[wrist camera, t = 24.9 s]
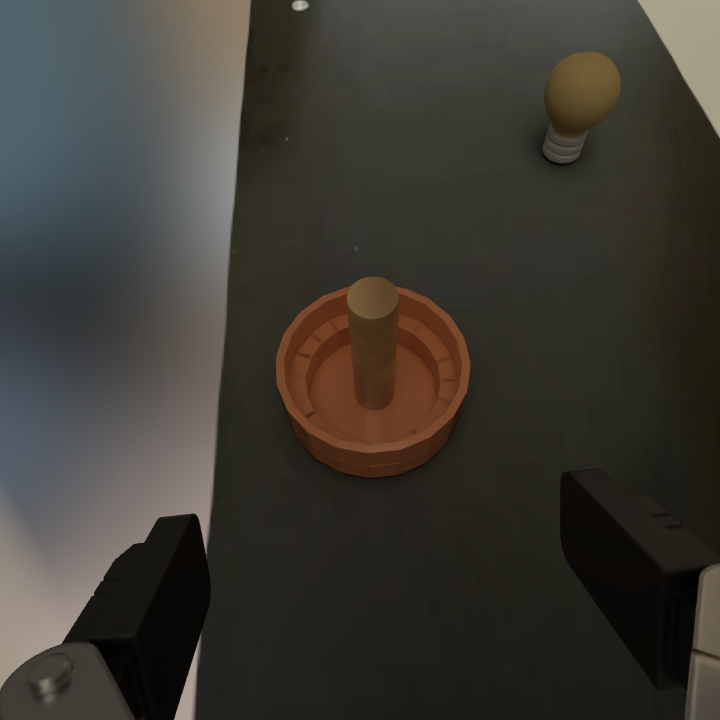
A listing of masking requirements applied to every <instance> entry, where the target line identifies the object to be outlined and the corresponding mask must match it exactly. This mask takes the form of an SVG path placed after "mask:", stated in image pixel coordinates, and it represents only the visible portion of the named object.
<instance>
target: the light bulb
mask: <svg viewBox="0 0 720 720" xmlns="http://www.w3.org/2000/svg"><path fill="white" fill-rule="evenodd" d="M620 89H621V79H620V74H619V71H618V69H617V67H616V66H615V64H614V63H613V62H612V61H611V60H610V59H609V58H608V57H607V56H605V55H603V54H600V53H597V52H581V53H576V54H573V55H571V56H568V57H566V58H565V59H563V60H562V61H560V62H559V63H558V64H557V66H556V67H555V68H554V69H553V71H552V73H551V74H550V76H549V78H548V81H547V83H546V87H545V93H544V101H545V107H546V110H547V113H548V116H549V118H550V119H551V121H552V122H551V123H550V125H549V127H548V132H547V134H546V137H545V141H544V144H543V147H542V149H543V153H544V155H545V156H546V157H547V158H548V159H549V160H551V161H552V162H555V163H560V164H564V163H570V162H573V161H575V160H576V159H577V158H578V157H579V155H580V153H581V149H582V148H583V145H584V142H585V139H586V137H587V135H588V129H590V128H592V127H594V126H595V125H597V124H598V123H600V122H601V121H602V120H603V119H604V118H605V117H606V116H607V115H608V114H609V113H610V112H611V111H612V109H613V108H614V106H615V104H616V102H617V100H618V97H619V94H620Z"/></svg>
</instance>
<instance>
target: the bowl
mask: <svg viewBox="0 0 720 720" xmlns="http://www.w3.org/2000/svg"><path fill="white" fill-rule="evenodd" d="M350 287H351V286H349V287H346V288H343V289H341V290H338V291H335V292H332V293H330V294H327V295H324V296H323V297H321V298H319V299H318V300H316V301H315V302H314V303H312V304H311V305H310V306H308V307H307V308H305V309H304V310H303V311H301V312H300V313H299V315H298V316H297V317H296V319H295V320H294V321H293V322H292V324H291V325H290V326H289V328H288V329H287V330H286V332H285V333H284V335H283V338H282V341H281V344H280V347H279V350H278V353H277V356H276V382H277V387H278V390H279V393H280V396H281V399H282V401H283V404H284V407H285V410H286V413H287V416H288V418H289V420H290V423H291V425H292V428H293V430H294V433H295V435H296V437H297V439H298V440H299V441H300V442H301V443H302V444H303V446H304V447H305V448H306V449H307V450H308V451H309V452H310V453H311V454H312V456H313V457H314V458H316V459H317V460H319V461H321V462H323V463H324V464H326V465H328V466H330V467H331V468H333V469H335V470H337V471H339V472H342V473H347V474H352V475H357V476H362V477H367V478H373V477H382V476H391V475H398V474H401V473H404V472H406V471H408V470H410V469H413V468H415V467H417V466H419V465H422V464H424V463H426V462H427V461H428V460H429V459H430V458H431V457H432V456H433V455H435V454H436V453H437V452H438V451H439V450H440V449H441V448H442V447H443V446H444V445H445V444H446V443H447V441H448V439H449V437H450V435H451V434H452V432H453V430H454V428H455V426H456V424H457V422H458V419H459V416H460V413H461V410H462V406H463V403H464V400H465V397H466V394H467V390H468V383H469V375H470V367H471V363H470V358H469V354H468V350H467V346H466V342H465V339H464V336H463V335H462V333H461V332H460V330H459V329H458V327H457V326H456V324H455V323H454V321H453V320H452V318H451V316H449V315H448V314H447V313H446V312H445V311H443V310H442V309H441V308H440V307H438V306H437V305H436V304H435V303H434V302H432V301H431V300H430V299H429V298H426V297H424V296H422V295H419V294H417V293H415V292H412V291H410V290H408V289H405V288H401V287H396V289H397V291H398V293H399V311H398V330H397V348H396V367H395V386H394V397H393V399H392V401H391V403H390V404H389V405H388V406H386V407H385V408H383V409H380V410H369V409H366V408H364V407H363V406H361V405H360V404H359V403H358V401H357V400H356V397H355V390H354V379H353V367H352V356H351V344H350V332H349V321H348V309H347V293H348V291H349V289H350Z"/></svg>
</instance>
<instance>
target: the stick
mask: <svg viewBox="0 0 720 720" xmlns="http://www.w3.org/2000/svg"><path fill="white" fill-rule="evenodd" d="M347 309H348V321H349V332H350V344H351V356H352V367H353V379H354V390H355V397H356V400H357V401H358V403H359V404H360V405H361V406H363V407H364V408H366V409H369V410H380V409H383V408H385V407H386V406H388V405H389V404H390V403H391V401H392V399H393V397H394V386H395V367H396V348H397V330H398V311H399V293H398V291H397V289H396V287H395V286H394V285H393V284H392V283H391V282H389V281H388V280H386V279H383V278H380V277H367V278H363V279H360V280H359V281H357V282H355V283H354V284H353V285H352V286H351V287H350V289H349V291H348V293H347Z"/></svg>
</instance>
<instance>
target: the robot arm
mask: <svg viewBox="0 0 720 720" xmlns="http://www.w3.org/2000/svg"><path fill="white" fill-rule="evenodd" d="M560 537H561V544H562V549H563V552H564V555H565V558H566V560H567V562H568V564H569V566H570V567H571V569H572V570H573V571H574V573H575V574H576V576H577V577H578V578H579V580H580V581H581V583H582V584H583V586H584V587H585V588H586V590H587V591H588V593H589V594H590V595H591V597H592V598H593V600H594V601H595V603H596V604H597V605H598V607H599V608H600V610H601V611H602V613H603V614H604V615H605V617H606V618H607V620H608V621H609V622H610V624H611V625H612V627H613V628H614V630H615V631H616V632H617V634H618V635H619V637H620V638H621V640H622V641H623V642H624V644H625V645H626V647H627V648H628V649H629V651H630V652H631V654H632V655H633V657H634V658H635V659H636V661H637V662H638V664H639V665H640V666H641V668H642V669H643V671H644V672H645V674H646V675H647V676H648V678H649V679H650V681H651V682H652V684H653V685H654V686H655V688H656V689H657V690H664V689H672V688H680V687H684V688H685V689H686V691H687V699H686V710H685V720H720V556H718V555H717V554H716V553H715V552H714V551H713V550H711V549H710V548H709V547H708V546H707V545H706V544H704V543H703V542H702V541H701V540H700V539H699V538H697V537H696V536H695V535H694V534H693V533H691V532H690V531H689V530H688V529H687V528H686V527H682V524H681V523H680V522H679V521H677V520H676V519H675V518H674V517H673V516H672V515H668V512H667V511H666V510H664V509H663V508H662V507H661V506H660V505H659V504H657V503H656V502H655V501H654V500H653V499H652V498H649V497H647V496H645V495H643V494H641V493H639V492H636V491H634V490H632V489H630V488H621V487H620V486H619V485H618V484H617V483H616V482H615V481H614V480H612V479H611V478H610V477H609V476H608V475H607V474H606V473H605V472H604V471H602V470H601V469H599V468H595V469H586V470H577V471H568V472H564V473H563V474H562V476H561V481H560ZM210 595H211V582H210V574H209V569H208V563H207V558H206V553H205V548H204V543H203V537H202V532H201V527H200V522H199V519H198V517H197V515H196V514H185V515H177V516H168V517H160V518H159V519H158V520H157V521H156V523H155V525H154V526H153V528H152V530H151V532H150V533H149V535H148V537H147V539H146V541H145V542H144V543H138V544H133V545H132V546H131V547H130V548H129V549H127V550H126V551H125V552H124V553H123V554H121V555H120V556H119V557H118V558H117V559H115V561H114V562H113V563H112V565H111V567H110V568H109V570H108V571H107V573H106V575H105V576H104V580H103V581H101V582H100V584H99V586H98V587H97V589H96V590H95V592H94V596H92V597H91V598H90V600H89V601H88V603H87V605H86V606H85V608H84V609H83V611H82V612H81V614H80V616H79V617H78V619H77V620H76V622H75V623H74V625H73V627H72V628H71V630H70V631H69V633H68V635H67V636H66V638H65V639H64V641H63V642H62V644H61V645H58V646H55V647H52V648H49V649H47V650H45V651H43V652H41V653H39V654H38V655H36V656H34V657H32V658H31V659H29V660H28V661H26V662H25V663H24V664H22V665H21V666H20V667H19V668H17V669H16V670H15V671H14V672H13V673H12V674H11V676H10V677H9V678H8V679H7V680H6V682H5V683H4V684H3V686H2V688H1V690H0V720H174V718H175V714H176V711H177V708H178V705H179V701H180V698H181V695H182V692H183V689H184V685H185V682H186V679H187V676H188V673H189V669H190V666H191V663H192V660H193V656H194V653H195V650H196V647H197V644H198V640H199V637H200V634H201V631H202V627H203V624H204V621H205V618H206V615H207V611H208V608H209V604H210Z"/></svg>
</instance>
